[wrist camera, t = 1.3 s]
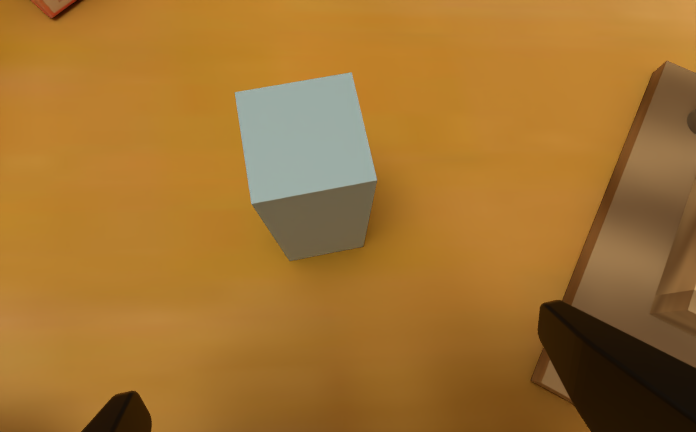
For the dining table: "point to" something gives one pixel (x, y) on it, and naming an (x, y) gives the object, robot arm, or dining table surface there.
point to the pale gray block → (308, 164)
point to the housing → (645, 230)
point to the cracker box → (52, 6)
